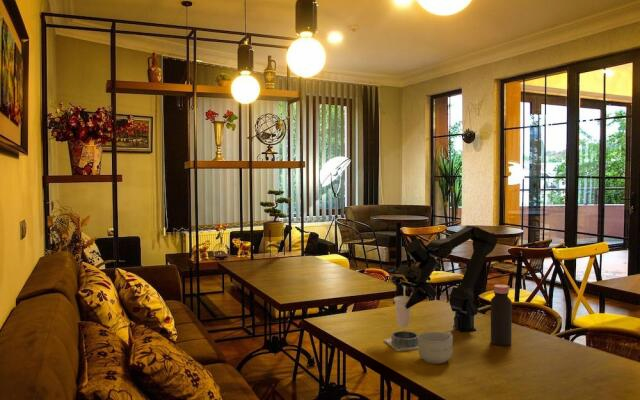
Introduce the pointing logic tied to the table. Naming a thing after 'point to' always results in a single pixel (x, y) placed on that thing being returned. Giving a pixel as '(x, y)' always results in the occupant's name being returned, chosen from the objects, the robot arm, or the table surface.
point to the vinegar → (501, 316)
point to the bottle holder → (403, 340)
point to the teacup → (435, 346)
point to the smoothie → (402, 310)
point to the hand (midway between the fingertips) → (399, 305)
